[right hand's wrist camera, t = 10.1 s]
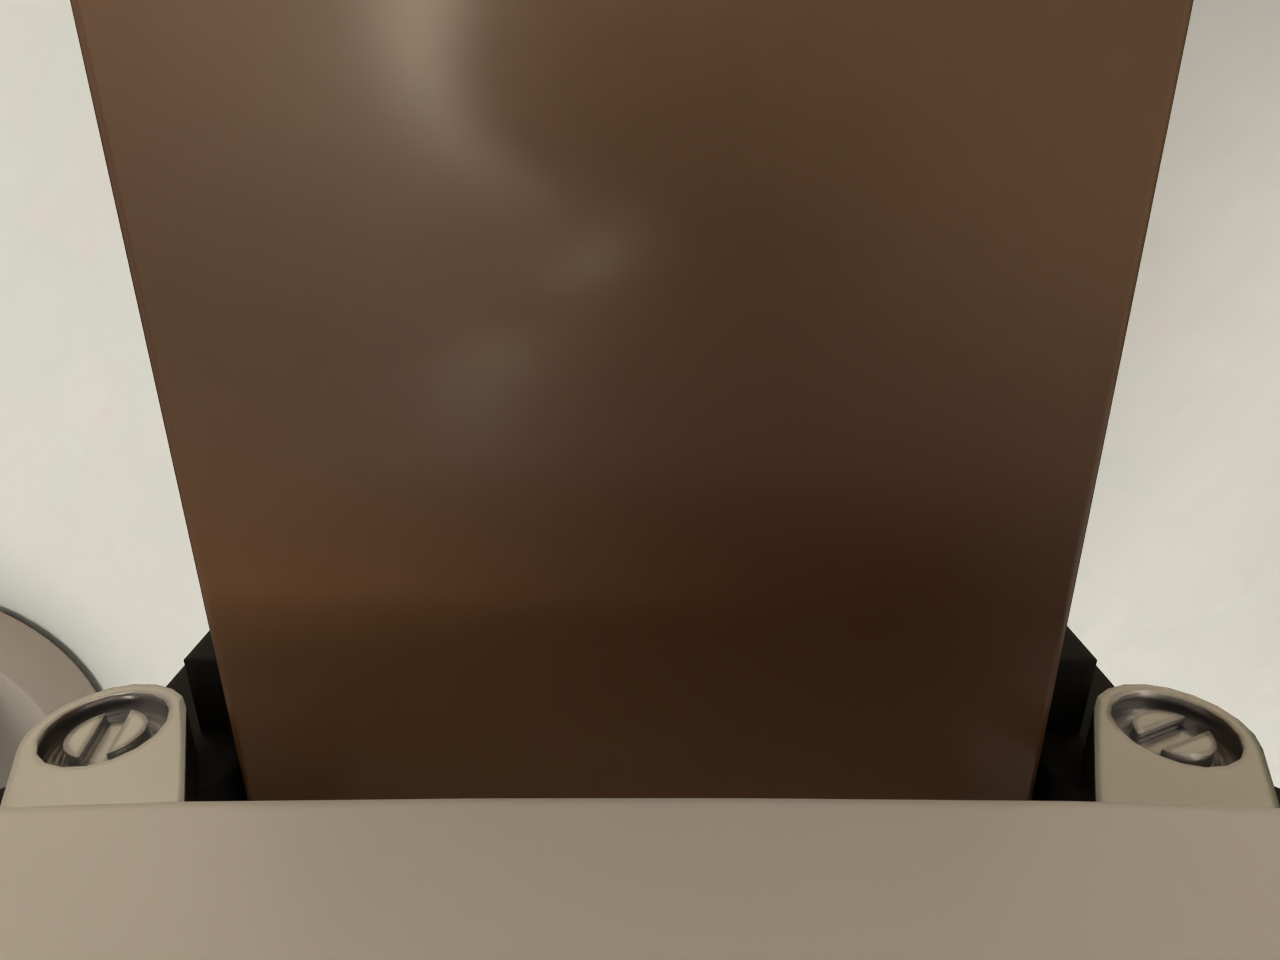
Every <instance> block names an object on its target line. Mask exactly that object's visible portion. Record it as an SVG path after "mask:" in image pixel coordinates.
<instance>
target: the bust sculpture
mask: <svg viewBox="0 0 1280 960" xmlns="http://www.w3.org/2000/svg"><path fill="white" fill-rule="evenodd" d="M93 693H96V691H95V690H94V688H93V687H92V685H91V684H90V682H89V681H88V679H87V678H86V677H85V675H84V674H83V673H82V672H81V670H80V669H79V668H78V667H77V666H76V665H75V664H74V663H73V661H72V660H71V659H70V658H69V657H68V656H67V655H65V654H64V653H63V652H62V651H61V650H60V649H59V648H58V647H57V646H55V645H54V644H53V643H52V642H50V641H49V640H48V639H46V638H45V637H44V636H42V635H41V634H39V633H38V632H37V631H35V630H34V629H32V628H30V627H29V626H27V625H25V624H24V623H22V622H20V621H18V620H16V619H15V618H13V617H11V616H9V615H6V614H4V613H2V612H0V789H1V788H3V787H6V785H7V782H8V778H9V775H10V772H11V768H12V765H13V762H14V758H15V755H16V752H17V749H18V747H19V745H20V743H21V742H22V740H23V738H24V736H25V735H26V734H27V733H28V732H29V731H30V730H31V729H32V728H33V727H34V726H35V725H36V724H37V723H38V722H39V721H40V720H41V719H43V718H45V717H46V716H48V715H49V714H51V713H53V712H54V711H56V710H57V709H59V708H60V707H62V706H64V705H66V704H69V703H71V702H73V701H75V700H77V699H80V698H82V697H84V696H86V695H90V694H93Z"/></svg>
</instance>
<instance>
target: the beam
mask: <svg viewBox="0 0 1280 960" xmlns="http://www.w3.org/2000/svg"><path fill="white" fill-rule="evenodd" d="M70 2H71V7H72V11H73V16H74V20H75V25H76V29H77V34H78V38H79V43H80V47H81V52H82V56H83V61H84V65H85V70H86V74H87V79H88V83H89V88H90V92H91V97H92V101H93V106H94V110H95V115H96V119H97V124H98V128H99V133H100V137H101V142H102V146H103V151H104V155H105V160H106V164H107V169H108V173H109V178H110V182H111V187H112V191H113V196H114V200H115V205H116V209H117V214H118V218H119V223H120V227H121V232H122V236H123V241H124V245H125V250H126V254H127V259H128V263H129V268H130V272H131V277H132V281H133V286H134V290H135V295H136V299H137V304H138V308H139V313H140V317H141V322H142V326H143V331H144V335H145V340H146V344H147V349H148V353H149V358H150V362H151V367H152V371H153V376H154V380H155V385H156V390H157V394H158V399H159V403H160V408H161V412H162V417H163V421H164V426H165V430H166V435H167V439H168V444H169V448H170V453H171V457H172V462H173V466H174V471H175V475H176V480H177V484H178V489H179V493H180V498H181V502H182V507H183V511H184V516H185V520H186V525H187V529H188V534H189V538H190V543H191V547H192V552H193V556H194V561H195V565H196V570H197V574H198V579H199V583H200V588H201V592H202V597H203V601H204V606H205V610H206V615H207V619H208V624H209V628H210V633H211V637H212V642H213V646H214V651H215V655H216V660H217V664H218V669H219V673H220V678H221V682H222V687H223V691H224V696H225V700H226V705H227V709H228V714H229V718H230V723H231V727H232V732H233V736H234V741H235V745H236V750H237V754H238V759H239V763H240V768H241V772H242V777H243V782H244V786H245V791H246V795H247V800H248V801H291V800H381V799H471V798H771V799H885V800H998V801H1031V799H1032V794H1033V789H1034V785H1035V780H1036V775H1037V770H1038V765H1039V760H1040V755H1041V750H1042V745H1043V740H1044V735H1045V730H1046V725H1047V720H1048V715H1049V711H1050V706H1051V701H1052V696H1053V691H1054V686H1055V681H1056V676H1057V671H1058V666H1059V661H1060V656H1061V651H1062V646H1063V642H1064V637H1065V632H1066V627H1067V622H1068V617H1069V612H1070V607H1071V602H1072V597H1073V592H1074V587H1075V582H1076V577H1077V572H1078V568H1079V563H1080V558H1081V553H1082V548H1083V543H1084V538H1085V533H1086V528H1087V523H1088V518H1089V513H1090V508H1091V503H1092V498H1093V494H1094V489H1095V484H1096V479H1097V474H1098V469H1099V464H1100V459H1101V454H1102V449H1103V444H1104V439H1105V434H1106V429H1107V425H1108V420H1109V415H1110V410H1111V405H1112V400H1113V395H1114V390H1115V385H1116V380H1117V375H1118V370H1119V365H1120V360H1121V355H1122V351H1123V346H1124V341H1125V336H1126V331H1127V326H1128V321H1129V316H1130V311H1131V306H1132V301H1133V296H1134V291H1135V286H1136V282H1137V277H1138V272H1139V267H1140V262H1141V257H1142V252H1143V247H1144V242H1145V237H1146V232H1147V227H1148V222H1149V217H1150V212H1151V208H1152V203H1153V198H1154V193H1155V188H1156V183H1157V178H1158V173H1159V168H1160V163H1161V158H1162V153H1163V148H1164V143H1165V139H1166V134H1167V129H1168V124H1169V119H1170V114H1171V109H1172V104H1173V99H1174V94H1175V89H1176V84H1177V79H1178V74H1179V69H1180V65H1181V60H1182V55H1183V50H1184V45H1185V40H1186V35H1187V30H1188V25H1189V20H1190V15H1191V10H1192V5H1193V0H70Z"/></svg>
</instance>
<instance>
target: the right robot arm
mask: <svg viewBox="0 0 1280 960" xmlns="http://www.w3.org/2000/svg"><path fill="white" fill-rule="evenodd" d="M1096 663H1097V659H1096V658H1095V657H1094V656H1093V655H1092V654H1091V653H1090V652H1089V650H1088V649H1087V648H1086V647H1085V646H1084V645H1083V644H1082V642H1081V641H1080V640H1079V639H1078V638H1077V637H1076V636H1075V634H1074V633H1073V632H1072V631H1071V630H1070V629H1069V628H1068V626H1067V627H1066V632H1065V637H1064V642H1063V646H1062V651H1061V656H1060V661H1059V666H1058V671H1057V676H1056V681H1055V686H1054V691H1053V696H1052V701H1051V706H1050V711H1049V715H1048V720H1047V725H1046V730H1045V735H1044V740H1043V745H1042V750H1041V755H1040V760H1039V765H1038V770H1037V775H1036V780H1035V785H1034V789H1033V794H1032V799H1031V801H998V800H885V799H771V798H471V799H381V800H291V801H248V800H247V795H246V791H245V786H244V782H243V777H242V772H241V768H240V763H239V759H238V754H237V750H236V745H235V741H234V736H233V732H232V727H231V723H230V718H229V714H228V709H227V705H226V700H225V696H224V691H223V687H222V682H221V678H220V673H219V669H218V664H217V660H216V655H215V651H214V646H213V642H212V637H211V633H210V631H209V632H208V633H207V634H206V635H205V636H204V638H203V639H202V640H201V641H200V642H199V643H198V644H197V645H196V647H195V648H194V649H193V650H192V651H191V652H190V653H189V655H188V656H187V657H186V658H185V659H184V664H185V666H184V667H183V668H182V669H181V670H180V671H179V672H178V674H177V675H176V676H175V677H174V678H173V679H172V681H171V682H170V683H169V684H168V685H167V686H166V687H163V686H159V685H146V684H134V685H128V686H121V687H115V688H110V689H106V690H103V691H100V692H96V693H93V694H90V695H86V696H84V697H82V698H80V699H77V700H75V701H73V702H71V703H69V704H66V705H64V706H62V707H60V708H59V709H57V710H56V711H54V712H53V713H51V714H49V715H48V716H46V717H45V718H43V719H41V720H40V721H39V722H38V723H37V724H36V725H35V726H34V727H33V728H32V729H31V730H30V731H29V732H28V733H27V734H26V735H25V736H24V738H23V740H22V742H21V743H20V745H19V747H18V749H17V752H16V755H15V758H14V762H13V765H12V768H11V772H10V775H9V778H8V782H7V785H6V787H3V788H1V789H0V960H1280V789H1279V788H1277V787H1275V786H1274V785H1273V782H1272V778H1271V775H1270V772H1269V768H1268V765H1267V762H1266V758H1265V755H1264V752H1263V749H1262V747H1261V745H1260V743H1259V742H1258V740H1257V738H1256V736H1255V735H1254V734H1253V733H1252V732H1251V731H1250V730H1249V729H1248V728H1247V727H1246V726H1245V725H1244V724H1243V723H1242V722H1241V721H1240V720H1239V719H1237V718H1235V717H1234V716H1232V715H1231V714H1229V713H1227V712H1226V711H1224V710H1223V709H1221V708H1220V707H1218V706H1216V705H1214V704H1211V703H1209V702H1207V701H1205V700H1203V699H1200V698H1198V697H1196V696H1194V695H1190V694H1187V693H1184V692H1180V691H1177V690H1174V689H1170V688H1165V687H1159V686H1152V685H1146V684H1134V685H1121V686H1117V687H1114V686H1113V684H1112V683H1111V682H1110V681H1109V680H1108V679H1107V677H1106V676H1105V675H1104V674H1103V673H1102V672H1101V671H1100V669H1099V668H1098V667H1097V666H1096Z"/></svg>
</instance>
